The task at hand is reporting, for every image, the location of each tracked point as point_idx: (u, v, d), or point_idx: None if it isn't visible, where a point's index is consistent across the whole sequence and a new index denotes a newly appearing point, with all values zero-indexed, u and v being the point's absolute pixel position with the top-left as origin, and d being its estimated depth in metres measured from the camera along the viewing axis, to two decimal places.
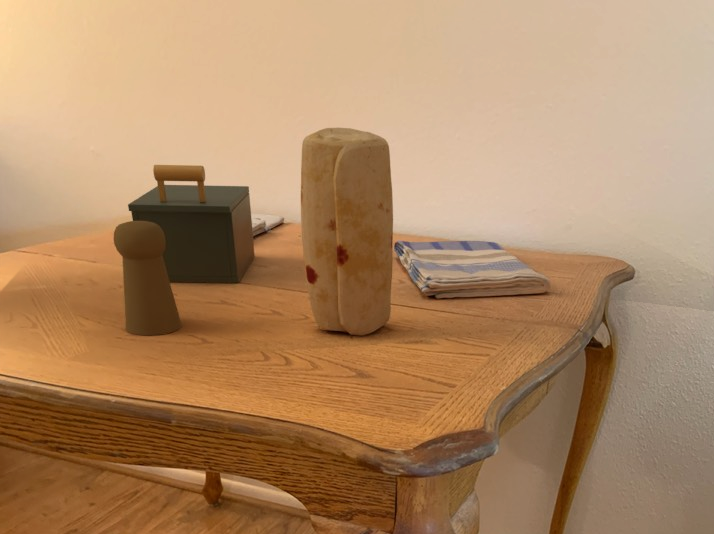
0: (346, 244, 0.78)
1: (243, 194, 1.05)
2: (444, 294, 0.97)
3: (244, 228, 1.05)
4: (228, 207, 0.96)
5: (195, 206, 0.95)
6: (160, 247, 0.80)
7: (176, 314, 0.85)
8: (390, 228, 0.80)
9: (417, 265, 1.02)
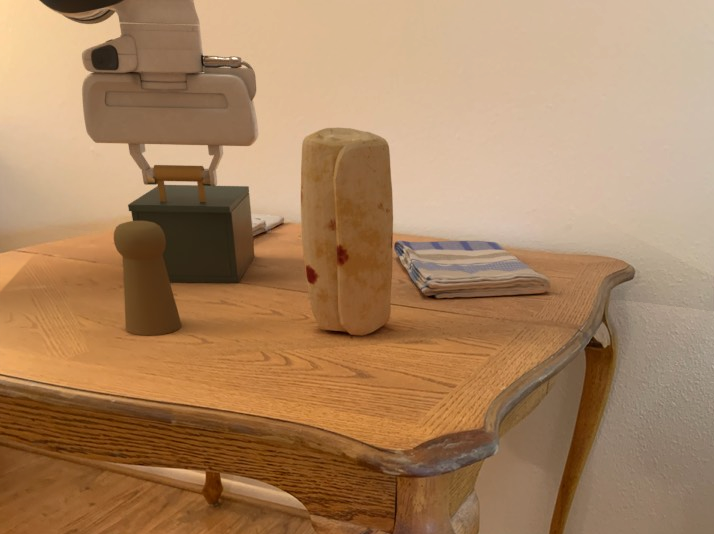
0: (346, 244, 0.78)
1: (243, 194, 1.05)
2: (444, 294, 0.97)
3: (244, 228, 1.05)
4: (228, 207, 0.96)
5: (195, 206, 0.95)
6: (160, 247, 0.80)
7: (176, 314, 0.85)
8: (390, 228, 0.80)
9: (417, 265, 1.02)
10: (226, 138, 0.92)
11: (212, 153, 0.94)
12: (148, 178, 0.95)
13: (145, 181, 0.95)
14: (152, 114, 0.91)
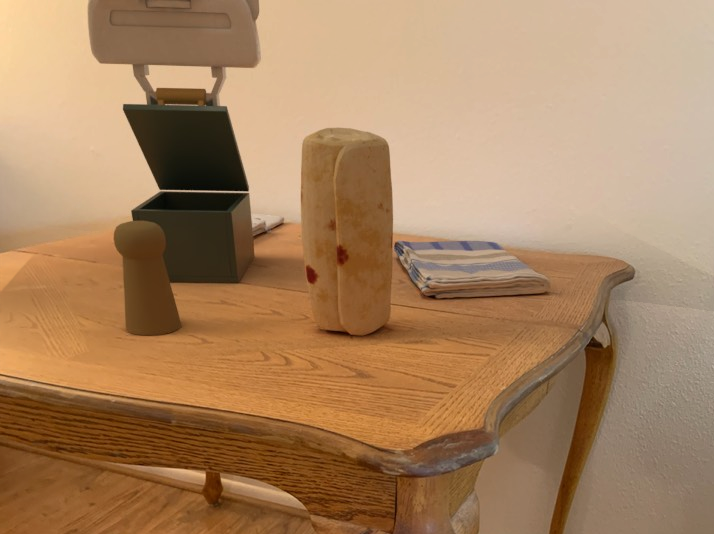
0: (346, 244, 0.78)
1: (242, 166, 1.04)
2: (444, 294, 0.97)
3: (244, 228, 1.05)
4: (225, 107, 0.94)
5: (192, 105, 0.93)
6: (160, 247, 0.80)
7: (176, 314, 0.85)
8: (390, 228, 0.80)
9: (417, 265, 1.02)
10: (229, 59, 0.93)
11: (215, 75, 0.95)
12: (152, 101, 0.96)
13: (149, 104, 0.96)
14: (156, 34, 0.92)
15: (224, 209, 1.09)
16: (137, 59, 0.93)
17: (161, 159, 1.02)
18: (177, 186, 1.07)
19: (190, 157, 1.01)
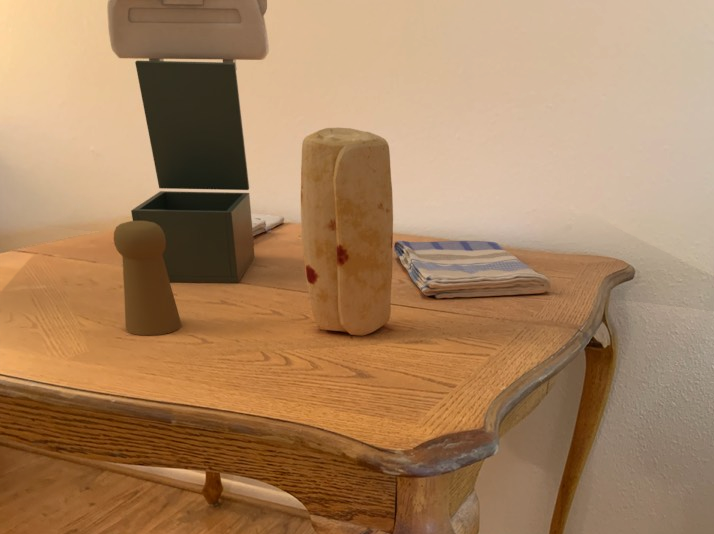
0: (346, 244, 0.78)
1: (244, 152, 1.05)
2: (444, 294, 0.97)
3: (244, 228, 1.05)
4: (234, 63, 0.98)
5: (202, 62, 0.98)
6: (160, 247, 0.80)
7: (176, 314, 0.85)
8: (390, 228, 0.80)
9: (417, 265, 1.02)
10: (239, 52, 1.00)
11: None
12: None
13: None
14: (171, 29, 0.98)
15: (224, 209, 1.09)
16: (154, 53, 1.00)
17: (165, 138, 1.04)
18: (177, 182, 1.08)
19: (194, 134, 1.03)
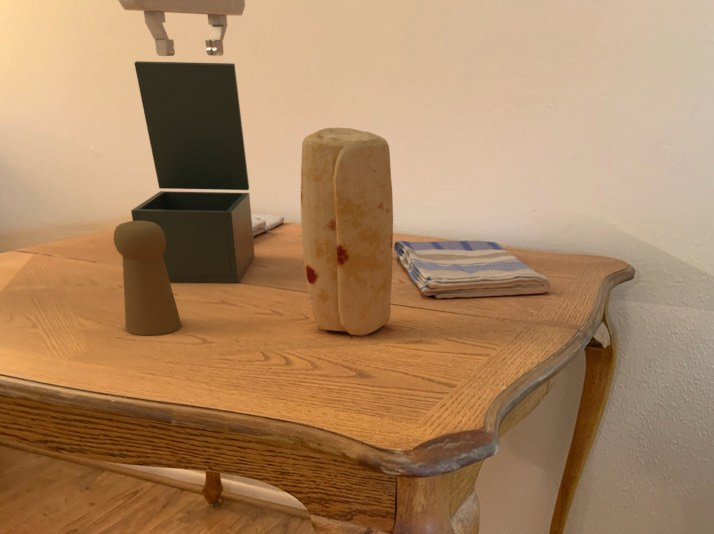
0: (346, 244, 0.78)
1: (244, 153, 1.05)
2: (444, 294, 0.97)
3: (244, 228, 1.05)
4: None
5: None
6: (160, 247, 0.80)
7: (176, 314, 0.85)
8: (390, 228, 0.80)
9: (417, 265, 1.02)
10: (230, 7, 1.02)
11: (222, 22, 1.03)
12: (170, 48, 0.97)
13: (168, 52, 0.97)
14: None
15: (224, 209, 1.09)
16: (171, 6, 0.94)
17: (164, 139, 1.04)
18: (177, 182, 1.07)
19: (194, 135, 1.03)
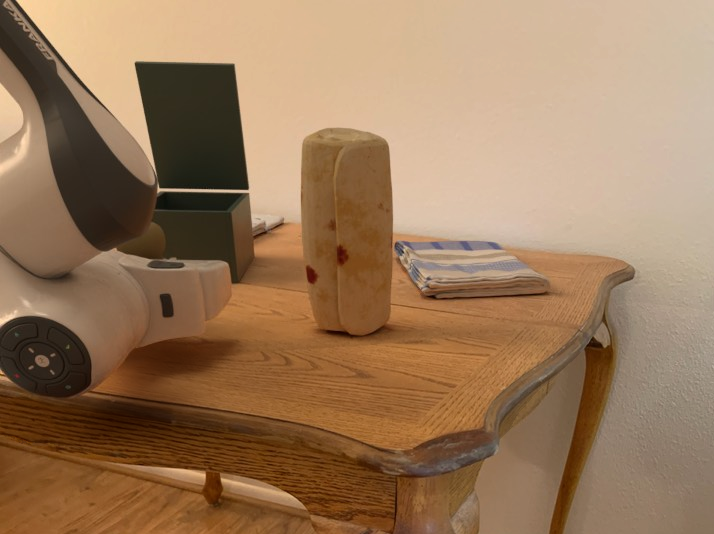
0: (346, 244, 0.78)
1: (244, 153, 1.05)
2: (444, 294, 0.97)
3: (244, 228, 1.05)
4: None
5: None
6: (160, 247, 0.80)
7: None
8: (390, 228, 0.80)
9: (417, 265, 1.02)
10: None
11: None
12: (168, 258, 0.82)
13: None
14: None
15: (224, 209, 1.09)
16: (175, 259, 0.78)
17: (164, 139, 1.04)
18: (177, 182, 1.07)
19: (194, 135, 1.03)
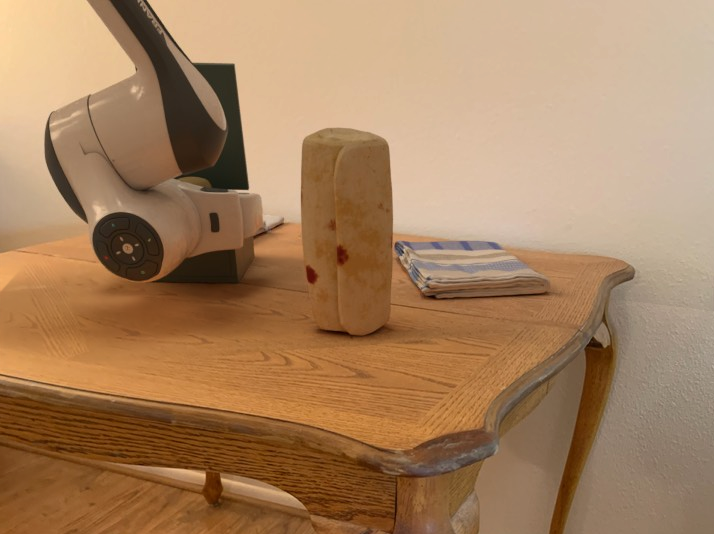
0: (346, 244, 0.78)
1: (244, 153, 1.05)
2: (444, 294, 0.97)
3: None
4: None
5: None
6: None
7: None
8: (390, 228, 0.80)
9: (417, 265, 1.02)
10: None
11: None
12: None
13: None
14: None
15: None
16: None
17: None
18: None
19: None
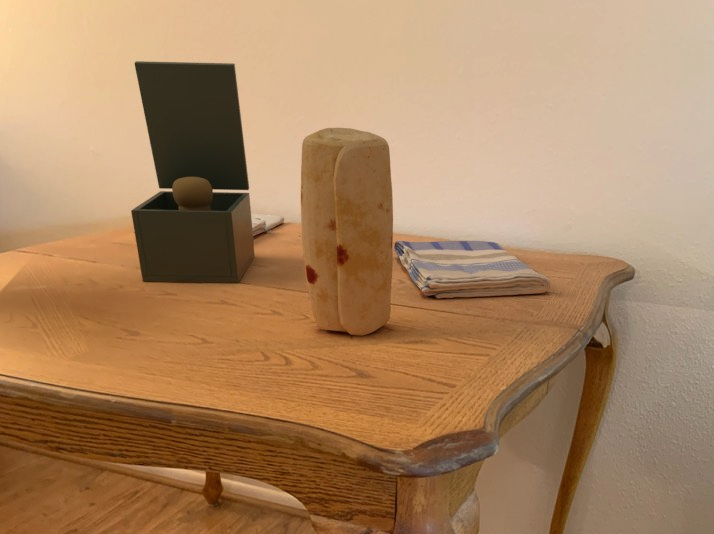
0: (346, 244, 0.78)
1: (244, 153, 1.05)
2: (444, 294, 0.97)
3: (244, 228, 1.05)
4: None
5: None
6: (209, 198, 1.01)
7: None
8: (390, 228, 0.80)
9: (417, 265, 1.02)
10: None
11: None
12: None
13: None
14: None
15: (224, 209, 1.09)
16: None
17: (164, 139, 1.04)
18: None
19: (194, 135, 1.03)
